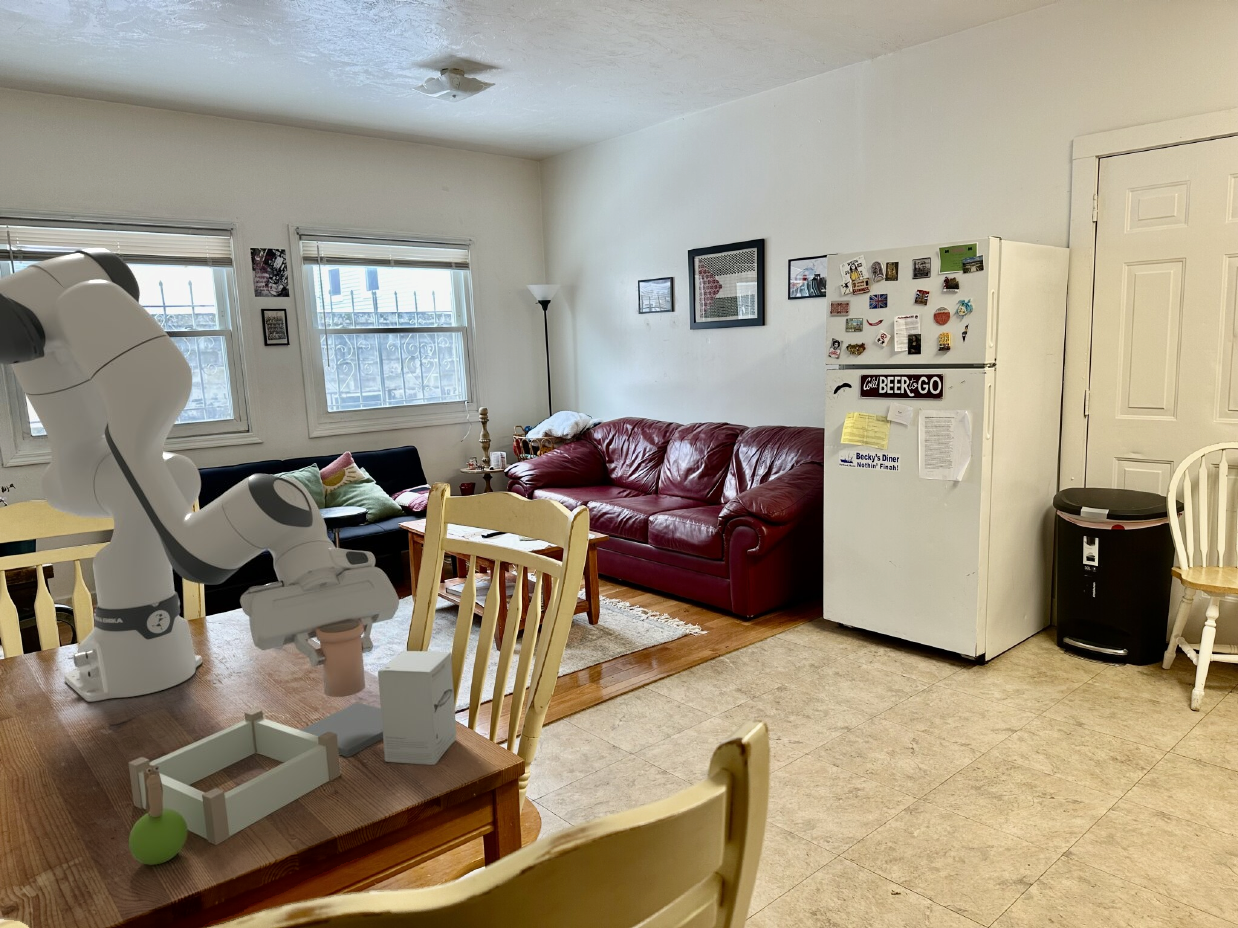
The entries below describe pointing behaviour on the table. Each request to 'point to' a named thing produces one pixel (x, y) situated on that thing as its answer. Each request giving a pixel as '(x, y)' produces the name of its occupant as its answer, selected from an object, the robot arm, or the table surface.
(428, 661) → the supplement box
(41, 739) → the table surface
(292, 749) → the raised garden bed frame
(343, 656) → the terracotta pot
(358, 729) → the rubber mat
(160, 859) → the snail figurine
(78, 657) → the robot arm
